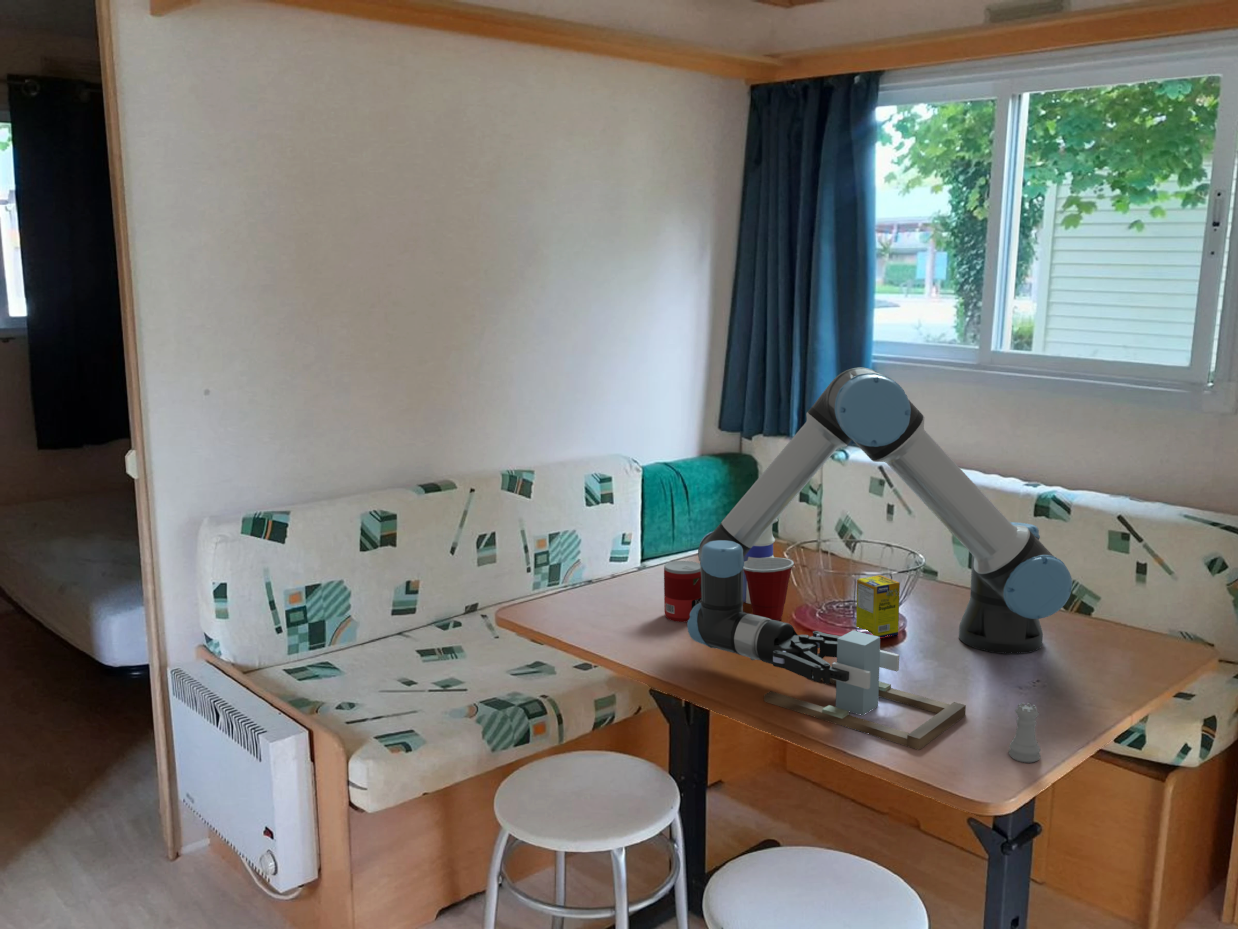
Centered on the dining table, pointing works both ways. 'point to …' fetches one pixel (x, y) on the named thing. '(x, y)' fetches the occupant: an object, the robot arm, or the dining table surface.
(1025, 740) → the rook chess piece
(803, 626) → the dining table surface
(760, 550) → the water bottle
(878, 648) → the blue-grey tall rectangular block
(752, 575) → the plastic cup
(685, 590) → the canned food
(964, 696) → the dining table surface
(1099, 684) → the dining table surface
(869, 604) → the supplement box
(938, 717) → the brown u-shaped frame
